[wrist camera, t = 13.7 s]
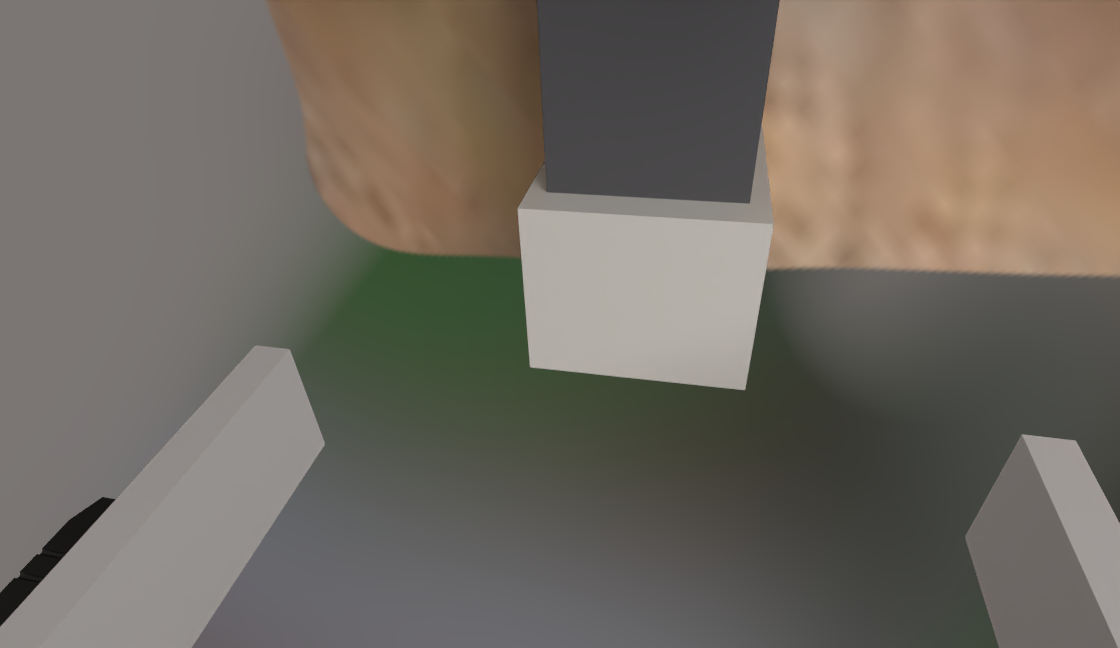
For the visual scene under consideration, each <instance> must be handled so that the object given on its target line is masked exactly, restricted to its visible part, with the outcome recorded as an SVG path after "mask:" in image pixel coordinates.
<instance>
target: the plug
mask: <svg viewBox="0 0 1120 648" xmlns="http://www.w3.org/2000/svg"><path fill="white" fill-rule="evenodd" d="M778 7H779V0H537V11H538V31H539V51H540V71H541V91H542V111H543V131H544V151H545V162H544V163H543V165H542V167H541V169H540V170H539V172H538V174H537V176H536V177H535V179H534V181H533V182H532V184H531V186H530V188H529V189H528V191H527V193H526V195H525V196H524V198H523V200H522V202H521V203H520V205H519V207H518V221H519V233H520V246H521V259H522V271H523V283H524V297H525V308H526V322H527V335H528V346H529V359H530V367H534V368H542V369H552V370H561V371H570V372H580V373H589V374H599V375H608V376H618V377H627V378H636V379H646V380H655V381H664V382H674V383H683V384H694V385H703V386H711V387H721V388H730V389H740V390H745V388H746V381H747V376H748V370H749V365H750V358H751V353H752V347H753V341H754V336H755V330H756V324H757V318H758V312H759V306H760V301H761V295H762V289H763V283H764V278H765V272H766V266H767V260H768V254H769V249H770V243H771V237H772V231H773V225H774V222H773V214H772V205H771V196H770V188H769V179H768V170H767V162H766V153H765V144H764V136H763V127H762V117H763V110H764V103H765V96H766V89H767V83H768V76H769V69H770V62H771V55H772V48H773V42H774V35H775V28H776V21H777V14H778Z"/></svg>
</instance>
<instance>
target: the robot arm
mask: <svg viewBox="0 0 1120 648" xmlns="http://www.w3.org/2000/svg"><path fill="white" fill-rule="evenodd" d="M324 445H325V442H324V440H323V437H322V434H321V432H320V429H319V426H318V424H317V421H316V418H315V416H314V413H313V410H312V408H311V405H310V403H309V400H308V397H307V394H306V392H305V389H304V386H303V384H302V381H301V379H300V376H299V373H298V370H297V368H296V365H295V363H294V360H293V357H292V355H291V352H290V349H283V348H274V347H265V346H256V345H255V347H254V348H253V349H252V350H251V351H250V352H249V353H248V354H247V355H246V356H245V357H244V359H243V360H242V361H241V362H240V363H239V364H238V365H237V366H236V367H235V368H234V370H233V371H232V372H231V373H230V374H229V375H228V376H227V377H226V379H225V380H224V381H223V382H222V383H221V384H220V385H219V386H218V387H217V388H216V390H215V391H214V392H213V393H212V394H211V395H210V396H209V397H208V399H207V400H206V401H205V402H204V403H203V404H202V405H201V406H200V407H199V408H198V409H197V410H196V412H195V413H194V414H193V415H192V416H191V417H190V418H189V419H188V420H187V421H186V423H185V424H184V425H183V426H182V427H181V428H180V429H179V430H178V431H177V432H176V434H175V435H174V436H173V437H172V438H171V439H170V440H169V441H168V442H167V443H166V445H165V446H164V447H163V448H162V449H161V450H160V451H159V452H158V453H157V455H156V456H155V457H154V458H153V459H152V460H151V461H150V462H149V463H148V465H147V466H146V467H145V468H144V469H143V470H142V471H141V472H140V473H139V474H138V475H137V477H136V478H135V479H134V480H133V481H132V482H131V483H130V484H129V486H128V487H127V488H126V489H125V490H124V491H123V492H122V493H121V494H120V495H119V497H118V498H117V499H110V498H104V497H102V498H101V499H99V500H98V501H96V502H95V503H93V504H92V505H90V506H89V507H88V508H86V509H85V510H83V511H82V512H80V513H79V514H77V515H76V516H74V517H73V518H71V519H70V520H69V521H68V522H67V523H66V524H65V525H64V526H63V527H62V528H61V529H60V530H59V531H58V532H57V533H56V535H55V536H54V537H53V538H52V539H51V540H50V541H49V542H48V543H47V544H46V545H45V546H44V547H43V548H42V550H43V551H42V553H41V554H40V555H38V554H37V555H36V556H35V557H34V558H33V559H32V560H31V561H30V562H29V563H28V564H27V565H26V566H25V567H24V568H23V569H22V570H21V571H20V576H19V577H18V578H14V579H13V580H12V581H11V582H10V583H9V584H8V585H7V586H6V587H5V588H4V590H3V591H2V592H1V593H0V648H192V646H193V645H194V643H195V642H196V640H197V639H198V637H199V636H200V634H201V632H202V631H203V629H204V628H205V626H206V625H207V623H208V622H209V620H210V619H211V617H212V616H213V614H214V613H215V611H216V610H217V608H218V607H219V605H220V604H221V602H222V601H223V599H224V597H225V596H226V594H227V593H228V591H229V590H230V588H231V587H232V585H233V584H234V582H235V581H236V579H237V578H238V576H239V575H240V573H241V571H242V570H243V568H244V567H245V565H246V564H247V562H248V561H249V559H250V557H251V556H252V555H253V553H254V551H255V550H256V549H257V547H258V546H259V544H260V543H261V541H262V539H263V538H264V536H265V535H266V533H267V532H268V530H269V529H270V527H271V526H272V524H273V523H274V521H275V520H276V518H277V516H278V515H279V514H280V512H281V511H282V509H283V507H284V506H285V504H286V503H287V501H288V500H289V498H290V497H291V495H292V494H293V492H294V491H295V489H296V488H297V486H298V484H299V483H300V482H301V480H302V478H303V477H304V475H305V474H306V472H307V471H308V469H309V468H310V466H311V465H312V463H313V462H314V460H315V459H316V457H317V456H318V454H319V453H320V451H321V449H322V448H323V446H324ZM965 538H966V541H967V545H968V548H969V551H970V555H971V558H972V561H973V564H974V567H975V571H976V574H977V577H978V580H979V584H980V587H981V590H982V593H983V596H984V600H985V603H986V606H987V609H988V612H989V616H990V619H991V623H992V625H993V629H994V632H995V635H996V639H997V642H998V645H999V648H1120V523H1119V522H1118V520H1117V518H1116V516H1115V514H1114V513H1113V510H1112V508H1111V507H1110V505H1109V503H1108V501H1107V499H1106V497H1105V495H1104V493H1103V491H1102V490H1101V488H1100V486H1099V484H1098V482H1097V480H1096V478H1095V477H1094V474H1093V473H1092V471H1091V469H1090V467H1089V465H1088V463H1087V461H1086V459H1085V458H1084V456H1083V454H1082V452H1081V450H1080V448H1079V446H1078V444H1077V443H1076V441H1074V440H1065V439H1056V438H1048V437H1039V436H1031V435H1021V437H1020V439H1019V441H1018V443H1017V444H1016V446H1015V448H1014V450H1013V452H1012V453H1011V455H1010V457H1009V459H1008V461H1007V462H1006V464H1005V466H1004V468H1003V470H1002V471H1001V473H1000V475H999V477H998V479H997V480H996V482H995V484H994V486H993V488H992V490H991V491H990V493H989V495H988V497H987V498H986V500H985V502H984V504H983V506H982V508H981V509H980V511H979V513H978V515H977V516H976V518H975V520H974V522H973V524H972V525H971V527H970V529H969V531H968V533H967V534H966V536H965Z"/></svg>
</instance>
